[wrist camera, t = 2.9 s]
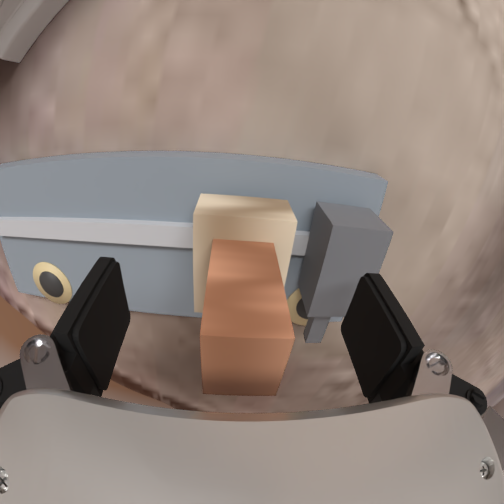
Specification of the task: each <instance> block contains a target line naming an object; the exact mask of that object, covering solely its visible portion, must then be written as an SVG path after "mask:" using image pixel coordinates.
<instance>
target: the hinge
mask: <svg viewBox="0 0 504 504" xmlns="http://www.w3.org/2000/svg"><path fill="white" fill-rule="evenodd" d="M68 1H69V0H0V58H1V59H3V60H7V61H12V62H17V63H20V62H21V60H22V59H23V57H24V56H25V54H26V53H27V51H28V50H29V48H30V47H31V46H32V44H33V43H34V41H35V40H36V39H37V37H38V36H39V35H40V34H41V32H42V31H43V30H44V28H45V27H46V26H47V25H48V24H49V22H50V21H51V20H52V19H53V18H54V16H55V15H56V14H57V13H58V12H59V11H60V10H61V8H62V7H63V6H64V5H65V4H66V3H67V2H68Z"/></svg>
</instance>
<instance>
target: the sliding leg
mask: <svg viewBox="0 0 504 504" xmlns="http://www.w3.org/2000/svg"><path fill="white" fill-rule="evenodd" d="M296 227H297V219H296V217H295V215H294V213H293V211H292V209H291V206H290V204H289V202H288V200H281V199H270V198H259V197H247V196H234V195H219V194H203V193H201V194H200V197H199V200H198V202H197V205H196V208H195V210H194V213H193V285H194V312H199V313H202V321H201V330H200V351H201V371H202V387H203V394H215V395H239V396H276V393H277V391H278V388H279V385H280V382H281V379H282V376H283V373H284V371H285V368H286V365H287V362H288V359H289V356H290V353H291V350H292V347H293V343H294V340H295V336H294V331H293V326H292V322H291V317H290V313H289V308H288V303H287V299H286V294H285V290H284V286H285V281H286V277H287V272H288V267H289V262H290V258H291V253H292V248H293V243H294V238H295V233H296Z"/></svg>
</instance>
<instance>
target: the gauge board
mask: <svg viewBox="0 0 504 504" xmlns="http://www.w3.org/2000/svg"><path fill="white" fill-rule="evenodd" d="M387 184H388V181H386V180H385V179H383V178H382V177H380V176H379V175H377V174H374V173H370V172H365V171H360V170H354V169H349V168H343V167H338V166H332V165H325V164H319V163H312V162H305V161H298V160H290V159H282V158H273V157H264V156H254V155H242V154H229V153H213V152H190V151H120V152H98V153H83V154H71V155H60V156H51V157H43V158H35V159H28V160H21V161H15V162H9V163H3V164H0V240H1V243H2V247H3V250H4V253H5V256H6V259H7V262H8V265H9V268H10V270H11V273H12V276H13V279H14V281H15V284H16V286H17V289H18V291H19V292H22V293H26V294H31V295H36V296H41V297H46V298H47V299H49V300H50V301H52V302H55V303H58V304H65V303H67V302H70V301H71V299H72V298H73V296H74V295H75V293H76V291H77V290H78V288H79V287H80V285H81V284H82V282H83V281H84V279H85V278H86V276H87V275H88V273H89V272H90V270H91V269H92V267H93V266H94V264H95V263H96V261H97V260H98V259H99V257H112V258H115V260H116V262H119V263H120V268H121V273H122V279H123V284H124V289H125V293H126V298H127V303H128V307H129V311H138V312H146V313H156V314H166V315H176V316H188V317H201V318H202V313H199V312H194V285H193V213H194V210H195V208H196V205H197V202H198V200H199V197H200V194H201V193H203V194H219V195H234V196H247V197H259V198H270V199H281V200H288V202H289V204H290V206H291V209H292V211H293V213H294V215H295V217H296V219H297V227H296V233H295V238H294V243H293V248H292V253H291V258H290V262H289V267H288V272H287V277H286V281H285V286H284V290H285V294H286V299H287V303H288V308H289V313H290V317H291V321H292V322H293V323H295V324H298V325H303V326H306V327H305V330H304V333H303V334H304V338H305V343H321V340H322V338H323V336H324V333H325V331H326V328H327V326H328V323H329V322H334V321H342V318H343V317H345V315H346V313H347V310H348V308H349V305H350V303H351V300H352V298H353V295H354V293H355V290H356V288H357V285H358V282H359V280H360V278H361V277H362V276H364V275H365V274H366V273H378V274H379V271H380V269H381V266H382V263H383V261H384V258H385V255H386V253H387V250H388V247H389V244H390V241H391V238H392V235H393V231H392V230H391V229H390V228H389V227H388V226H387V225H386V224H385V223H384V222H383V221H382V220H381V219H380V218H379V213H380V210H381V206H382V203H383V199H384V195H385V192H386V188H387Z"/></svg>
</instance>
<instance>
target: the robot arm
mask: <svg viewBox="0 0 504 504" xmlns="http://www.w3.org/2000/svg"><path fill="white" fill-rule="evenodd" d="M129 323H130V311H129V307H128V303H127V298H126V293H125V289H124V284H123V279H122V273H121V268H120V263H119V262H116V260H115V258H112V257H99V259H98V260H97V261H96V263H95V264H94V266H93V267H92V269H91V270H90V272H89V273H88V275H87V276H86V278H85V279H84V281H83V282H82V284H81V285H80V287H79V288H78V290H77V291H76V293H75V295H74V296H73V298H72V299H71V301H70V303H69V304H68V306H67V308H66V309H65V311H64V313H63V314H62V316H61V318H60V319H59V321H58V323H57V325H56V326H55V328H54V330H53V332H52V334H51V335H50V337H49V336H46V335H35V336H33V337H31V338H29V339H28V340H27V341H26V342H25V343H24V344H23V346H22V347H21V350H20V359H18V360H16V361H14V362H12V363H10V364H8V365H6V366H4V367H1V368H0V504H504V474H503V469H504V419H503V418H502V417H501V416H500V415H499V414H498V413H497V412H496V411H495V410H494V409H492V407H491V406H489V407H488V408H487V400H486V397H485V395H484V393H483V392H482V391H481V390H480V389H478V388H477V387H475V386H473V385H471V384H470V383H468V382H466V381H464V380H462V379H460V378H459V377H457V376H455V375H453V374H452V364H451V362H450V360H449V359H448V357H447V356H446V355H445V354H443V353H442V352H440V351H437V350H427V351H426V352H423V350H422V349H423V347H424V346H425V345H424V344H423V342H422V340H421V338H420V337H419V335H418V333H417V332H416V330H415V328H414V326H413V325H412V323H411V321H410V320H409V318H408V317H407V315H406V313H405V312H404V310H403V308H402V307H401V305H400V304H399V302H398V301H397V299H396V297H395V296H394V294H393V293H392V291H391V290H390V288H389V287H388V285H387V284H386V282H385V281H384V279H383V278H382V276H381V275H380V274H378V273H366V274H365V275H364V276H362V277H361V278H360V280H359V282H358V285H357V288H356V290H355V293H354V295H353V298H352V300H351V303H350V305H349V308H348V310H347V313H346V315H345V317H344V320H343V322H342V325H341V333H342V335H343V338H344V341H345V344H346V346H347V349H348V352H349V355H350V357H351V360H352V363H353V366H354V369H355V371H356V374H357V377H358V380H359V383H360V386H361V389H362V392H363V395H364V396H365V397H367V398H368V401H369V404H364V405H357V406H351V407H343V408H335V409H326V410H316V411H304V412H288V413H217V412H201V411H188V410H178V409H168V408H161V407H154V406H147V405H141V404H135V403H129V402H122V401H118V400H112V399H107V398H102V397H101V396H102V392H103V390H107V388H108V385H109V382H110V379H111V376H112V372H113V369H114V366H115V363H116V360H117V357H118V354H119V351H120V348H121V345H122V342H123V340H124V337H125V334H126V331H127V328H128V326H129ZM94 395H95V396H94ZM98 396H99V397H98ZM381 401H382V402H381Z"/></svg>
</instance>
